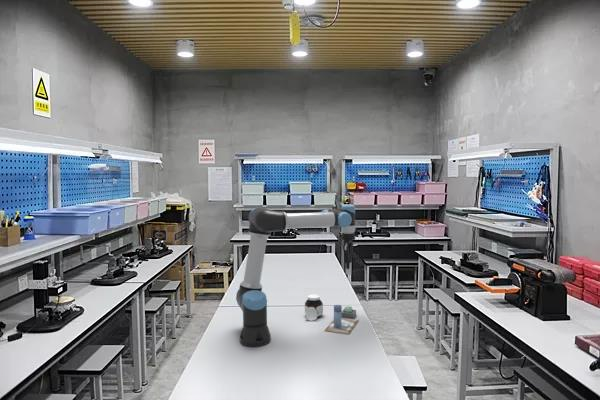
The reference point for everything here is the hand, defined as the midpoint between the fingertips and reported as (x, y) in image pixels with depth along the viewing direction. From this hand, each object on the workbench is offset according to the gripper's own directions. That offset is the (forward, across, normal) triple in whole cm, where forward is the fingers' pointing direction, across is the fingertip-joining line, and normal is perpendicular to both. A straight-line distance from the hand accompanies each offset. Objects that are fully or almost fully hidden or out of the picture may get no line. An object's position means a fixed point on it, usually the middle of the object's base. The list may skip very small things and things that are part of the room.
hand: (348, 274), depth 228 cm
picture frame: (+24, -14, 0) cm, 28 cm away
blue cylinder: (+24, -18, +1) cm, 30 cm away
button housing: (+24, 0, 0) cm, 24 cm away
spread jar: (+25, -8, +18) cm, 32 cm away
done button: (+23, 0, 0) cm, 23 cm away
